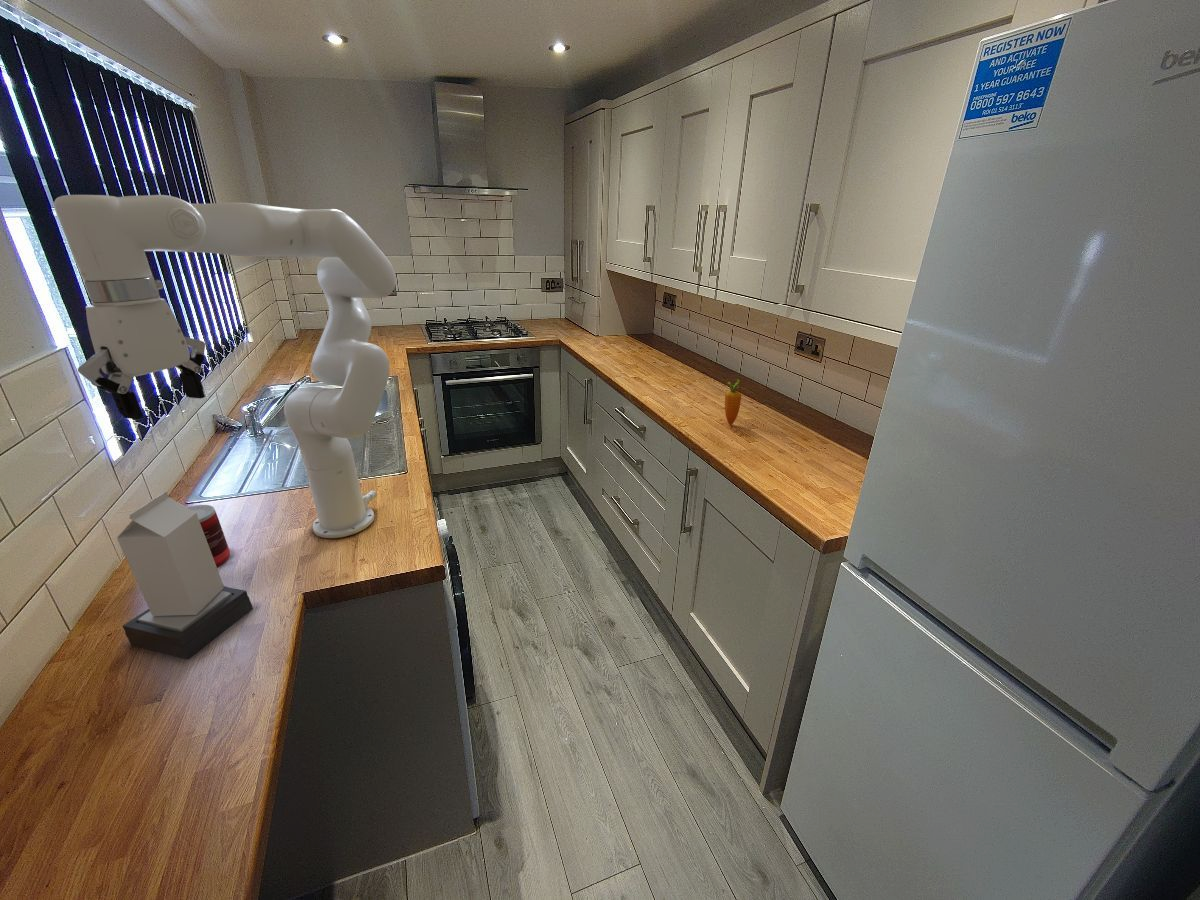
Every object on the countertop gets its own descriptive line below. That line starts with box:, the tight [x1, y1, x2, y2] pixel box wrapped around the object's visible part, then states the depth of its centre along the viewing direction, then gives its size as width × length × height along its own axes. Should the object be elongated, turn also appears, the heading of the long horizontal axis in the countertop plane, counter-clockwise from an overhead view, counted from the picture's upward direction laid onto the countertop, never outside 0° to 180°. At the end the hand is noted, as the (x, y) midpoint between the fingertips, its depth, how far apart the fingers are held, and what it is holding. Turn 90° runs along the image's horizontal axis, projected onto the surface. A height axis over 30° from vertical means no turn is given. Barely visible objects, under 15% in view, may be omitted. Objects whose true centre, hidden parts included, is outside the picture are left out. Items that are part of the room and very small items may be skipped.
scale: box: [122, 585, 254, 660], centre depth 87 cm, size 12×12×4 cm
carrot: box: [724, 379, 742, 426], centre depth 167 cm, size 5×5×15 cm
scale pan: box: [138, 591, 232, 633], centre depth 87 cm, size 9×9×2 cm
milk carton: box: [116, 490, 225, 616], centre depth 83 cm, size 7×7×19 cm
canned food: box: [186, 504, 231, 568], centre depth 103 cm, size 8×8×11 cm
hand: (166, 407), depth 81 cm, fingers open, 9 cm apart
